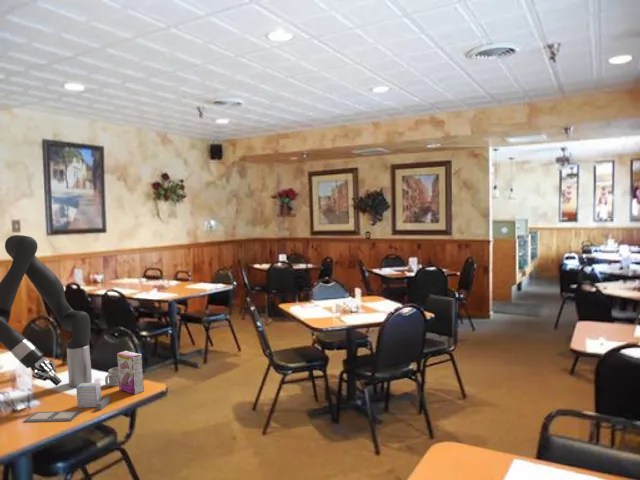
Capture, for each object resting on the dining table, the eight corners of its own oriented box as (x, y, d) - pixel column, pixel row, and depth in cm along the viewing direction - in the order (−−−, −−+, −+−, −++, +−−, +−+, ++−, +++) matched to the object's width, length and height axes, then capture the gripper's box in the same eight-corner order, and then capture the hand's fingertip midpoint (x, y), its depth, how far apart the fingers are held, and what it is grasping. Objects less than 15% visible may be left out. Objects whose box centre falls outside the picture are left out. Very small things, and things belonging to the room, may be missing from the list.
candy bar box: (118, 390, 214) (116, 353, 213) (128, 386, 218) (126, 350, 217) (134, 395, 208) (132, 356, 207) (144, 391, 212) (142, 353, 211)
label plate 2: (59, 412, 192) (59, 411, 192) (82, 412, 192) (82, 410, 192) (47, 421, 184) (47, 419, 184) (71, 420, 184) (71, 419, 184)
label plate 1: (36, 413, 193) (36, 411, 193) (59, 412, 192) (59, 411, 192) (23, 422, 185) (23, 420, 185) (47, 421, 184) (47, 419, 184)
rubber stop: (106, 402, 201) (106, 396, 201) (110, 402, 201) (110, 396, 201) (97, 410, 193) (96, 403, 193) (101, 410, 193) (100, 403, 193)
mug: (116, 380, 227) (115, 366, 227) (128, 381, 225) (127, 367, 225) (100, 388, 218) (99, 373, 218) (112, 389, 216) (111, 374, 215)
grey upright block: (102, 403, 201) (100, 382, 200) (97, 407, 196) (96, 386, 196) (82, 403, 201) (81, 383, 200) (77, 408, 196) (76, 386, 196)
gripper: (24, 353, 190) (57, 385, 192) (42, 341, 203) (73, 370, 205) (10, 366, 190) (44, 397, 193) (29, 352, 203) (60, 382, 206)
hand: (59, 383), depth 199 cm, fingers closed
